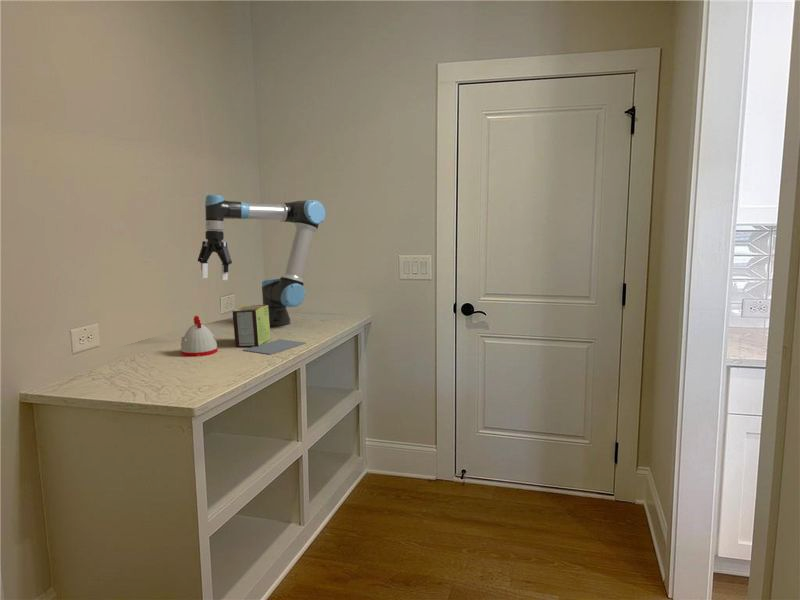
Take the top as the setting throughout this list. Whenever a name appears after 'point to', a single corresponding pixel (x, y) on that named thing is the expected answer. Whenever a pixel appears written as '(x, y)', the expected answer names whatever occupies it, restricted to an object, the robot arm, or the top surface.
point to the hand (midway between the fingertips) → (214, 279)
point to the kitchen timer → (198, 341)
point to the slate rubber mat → (274, 346)
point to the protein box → (251, 325)
